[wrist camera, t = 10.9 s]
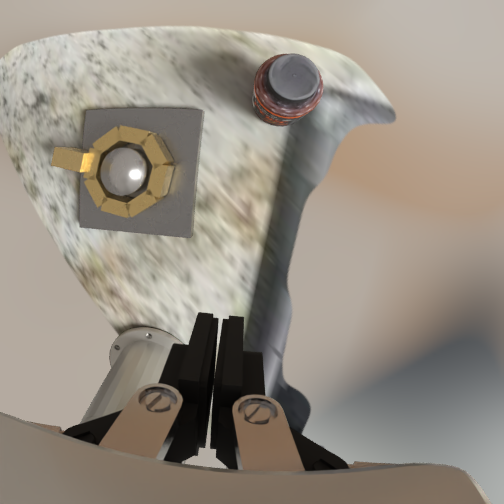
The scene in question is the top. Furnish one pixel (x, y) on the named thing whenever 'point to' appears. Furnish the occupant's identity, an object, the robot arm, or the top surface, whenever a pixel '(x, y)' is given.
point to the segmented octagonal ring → (94, 159)
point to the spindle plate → (182, 177)
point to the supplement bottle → (286, 89)
